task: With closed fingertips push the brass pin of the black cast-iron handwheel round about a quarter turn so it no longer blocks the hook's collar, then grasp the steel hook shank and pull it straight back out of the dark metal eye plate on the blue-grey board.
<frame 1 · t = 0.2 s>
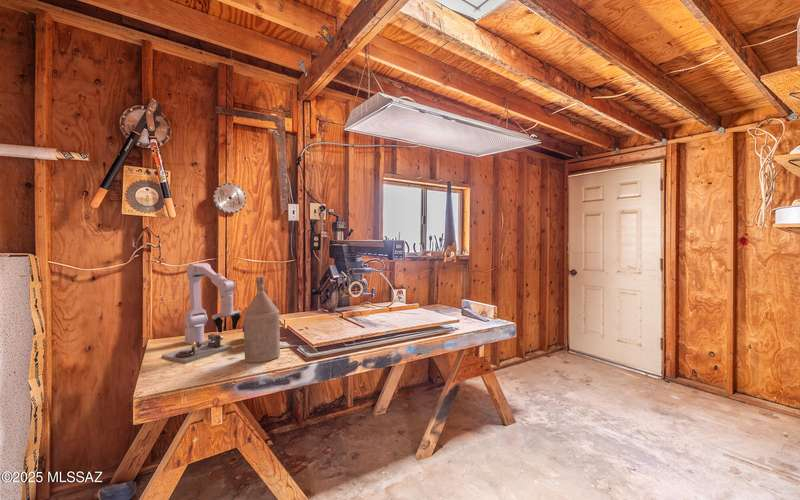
hand: (227, 330, 173), 10 cm above the table, tool pointing down, fingers open, 7 cm apart
handwheel: (186, 349, 161), point 4 cm above the table, hinge at 0.0°
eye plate: (214, 348, 174), resting on board
hook rod: (210, 341, 173), point 4 cm above the table, slide at 0.0 cm
board: (198, 352, 168), on the table
grey brown bottle: (263, 358, 161), on the table
pneumatic valve: (248, 340, 190), on the table
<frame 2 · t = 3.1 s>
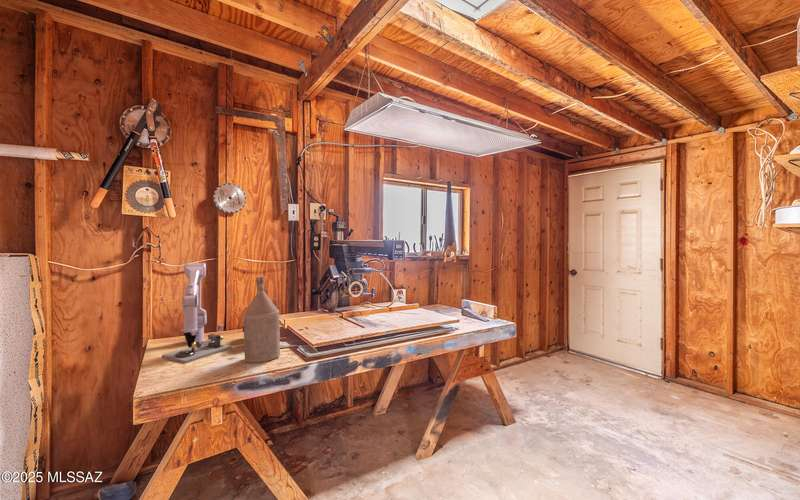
hand: (190, 346, 165), 4 cm above the table, tool pointing down, fingers closed, pressing on handwheel
handwheel: (186, 349, 161), point 4 cm above the table, hinge at 0.7°, touching gripper
everything else where it was.
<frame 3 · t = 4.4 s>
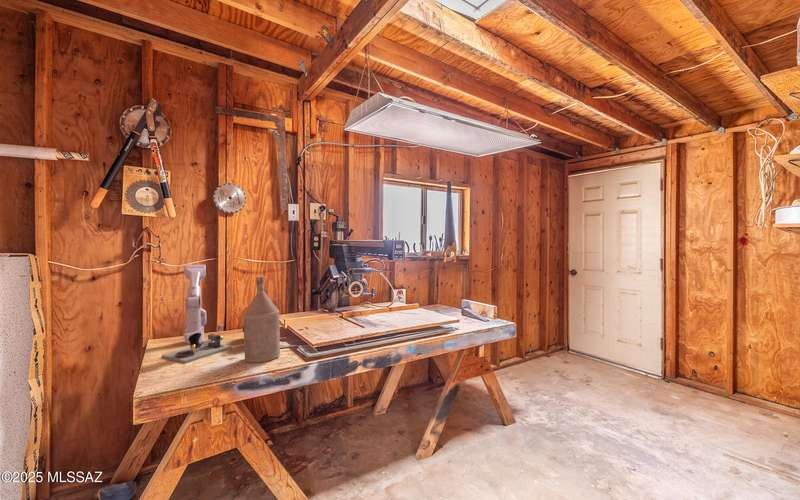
hand: (194, 348, 162), 4 cm above the table, tool pointing down, fingers closed, pressing on handwheel
handwheel: (186, 349, 161), point 4 cm above the table, hinge at 65.2°, touching gripper
everything else where it was.
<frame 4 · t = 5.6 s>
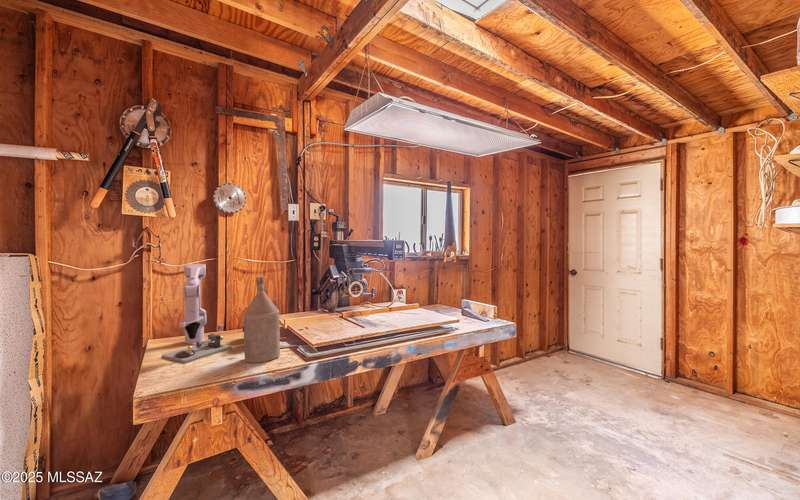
hand: (192, 338, 160), 9 cm above the table, tool pointing down, fingers closed
handwheel: (185, 349, 161), point 4 cm above the table, hinge at 95.6°
everything else where it was.
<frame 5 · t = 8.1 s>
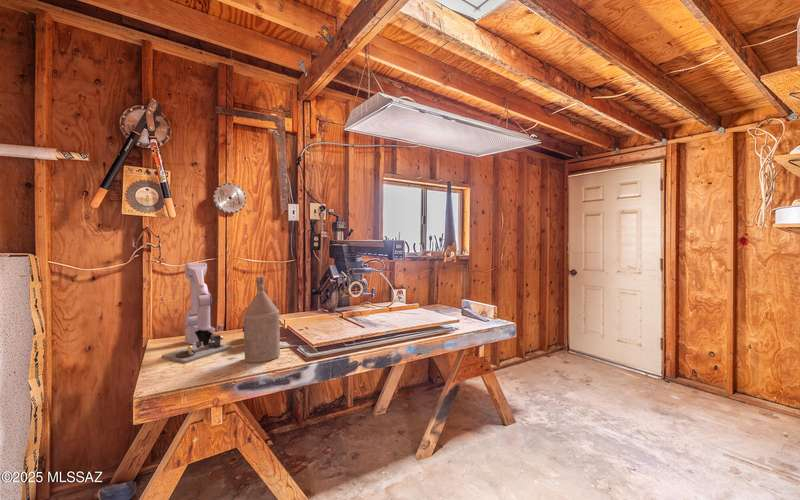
hand: (204, 344, 169), 3 cm above the table, tool pointing down, fingers closed on hook rod, 2 cm apart
hook rod: (210, 341, 173), point 4 cm above the table, slide at 0.0 cm, touching gripper
everything else where it was.
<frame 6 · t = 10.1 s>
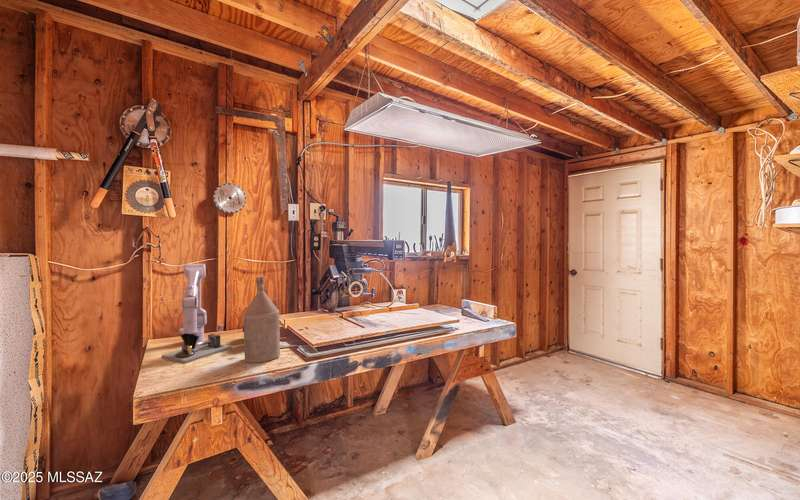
hand: (190, 348, 163), 3 cm above the table, tool pointing down, fingers closed on hook rod, 2 cm apart
hook rod: (197, 344, 166), point 4 cm above the table, slide at 6.9 cm, touching gripper
everything else where it was.
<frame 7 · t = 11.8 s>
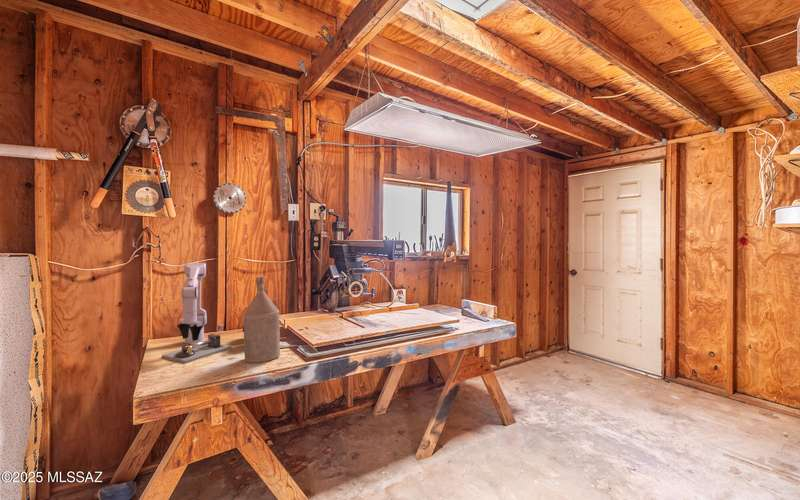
hand: (190, 339, 163), 8 cm above the table, tool pointing down, fingers open, 7 cm apart
hook rod: (197, 344, 166), point 4 cm above the table, slide at 6.9 cm
everything else where it was.
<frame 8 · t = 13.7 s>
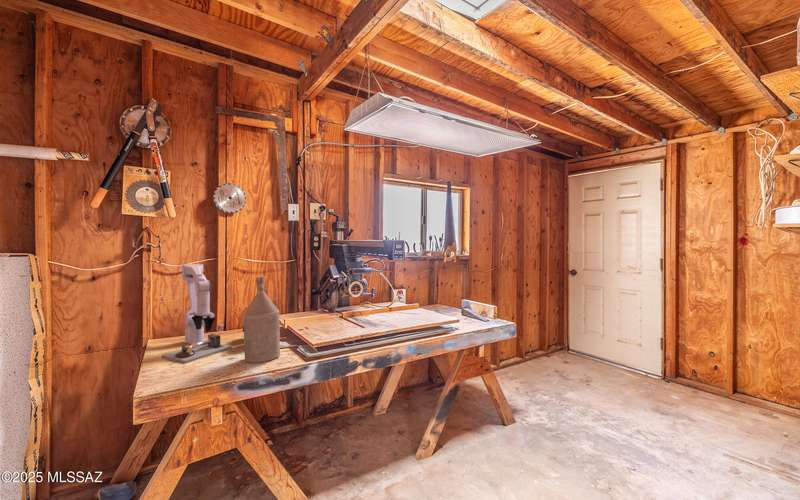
hand: (203, 330, 173), 10 cm above the table, tool pointing down, fingers open, 7 cm apart
nothing on the table moved.
at the end: handwheel at +96° (first picture: +0°); hook rod slide at 6.9 cm; the gripper is holding nothing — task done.
